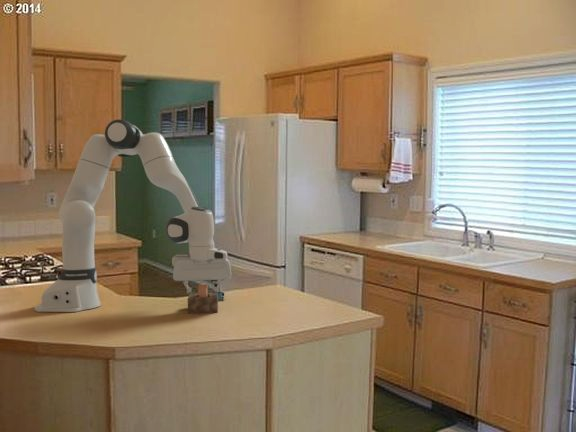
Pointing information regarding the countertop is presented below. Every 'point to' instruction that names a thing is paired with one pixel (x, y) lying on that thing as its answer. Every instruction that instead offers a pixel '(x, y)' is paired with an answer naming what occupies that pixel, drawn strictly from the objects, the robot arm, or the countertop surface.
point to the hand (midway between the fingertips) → (202, 292)
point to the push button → (220, 293)
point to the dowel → (202, 290)
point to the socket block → (203, 303)
